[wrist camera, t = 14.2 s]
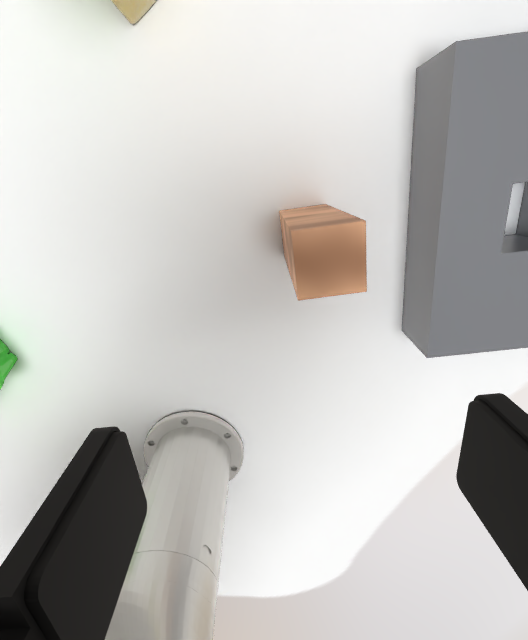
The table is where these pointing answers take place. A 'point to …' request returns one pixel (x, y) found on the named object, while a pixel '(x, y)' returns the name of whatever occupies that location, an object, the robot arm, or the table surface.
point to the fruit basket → (5, 362)
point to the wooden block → (324, 251)
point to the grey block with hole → (468, 200)
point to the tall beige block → (133, 8)
